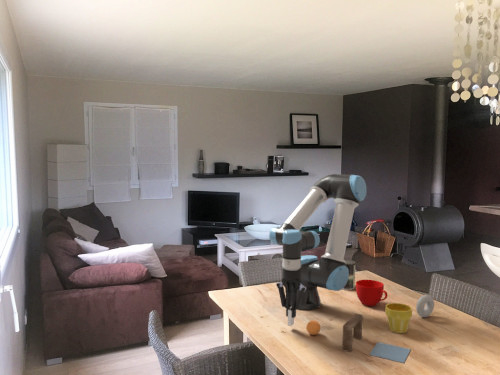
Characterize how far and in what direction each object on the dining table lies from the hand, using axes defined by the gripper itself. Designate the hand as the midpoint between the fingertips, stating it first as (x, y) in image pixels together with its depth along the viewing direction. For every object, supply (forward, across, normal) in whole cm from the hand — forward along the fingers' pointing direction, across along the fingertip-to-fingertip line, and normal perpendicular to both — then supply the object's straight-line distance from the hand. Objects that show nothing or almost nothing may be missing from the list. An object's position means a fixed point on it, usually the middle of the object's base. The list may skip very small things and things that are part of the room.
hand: (290, 324), depth 180 cm
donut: (+2, +45, +43) cm, 62 cm away
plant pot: (+2, +38, +22) cm, 44 cm away
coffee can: (+2, +1, +66) cm, 66 cm away
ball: (-1, +10, 0) cm, 10 cm away
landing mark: (+2, +40, 0) cm, 40 cm away
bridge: (+2, +26, 0) cm, 26 cm away
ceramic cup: (+2, +21, +46) cm, 51 cm away
